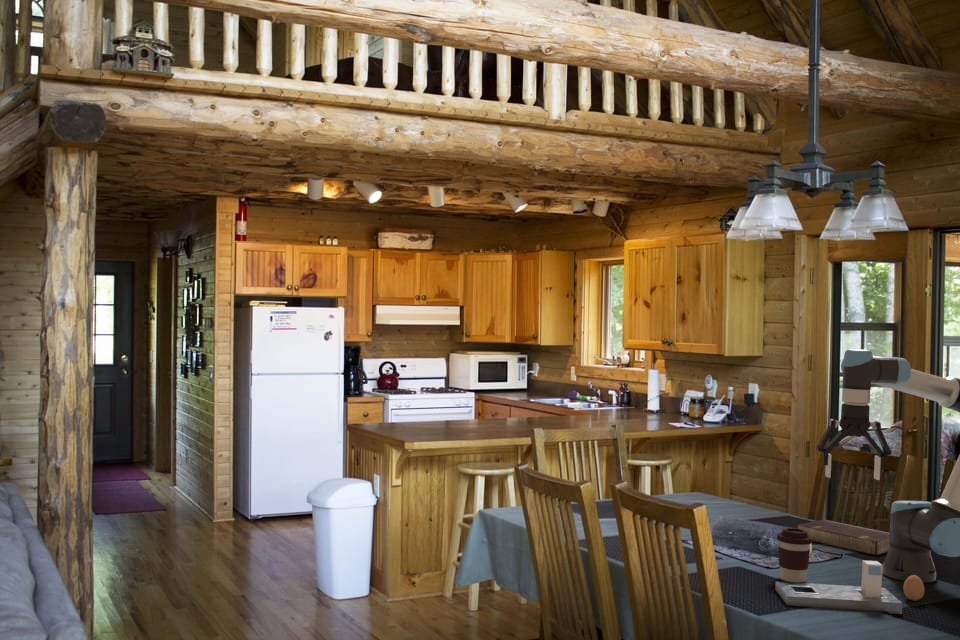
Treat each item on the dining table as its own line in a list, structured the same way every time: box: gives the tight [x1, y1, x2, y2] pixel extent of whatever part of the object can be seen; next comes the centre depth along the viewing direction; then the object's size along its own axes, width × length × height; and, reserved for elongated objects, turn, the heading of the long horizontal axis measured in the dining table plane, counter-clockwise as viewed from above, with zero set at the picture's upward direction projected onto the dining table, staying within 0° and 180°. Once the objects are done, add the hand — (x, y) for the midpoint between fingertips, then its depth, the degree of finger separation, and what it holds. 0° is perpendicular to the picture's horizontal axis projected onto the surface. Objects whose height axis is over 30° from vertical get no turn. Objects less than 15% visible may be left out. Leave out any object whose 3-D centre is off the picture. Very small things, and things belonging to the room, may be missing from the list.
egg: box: [902, 575, 925, 602], centre depth 273 cm, size 5×5×7 cm
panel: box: [774, 581, 903, 615], centre depth 268 cm, size 30×14×3 cm, turn 86°
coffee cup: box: [776, 527, 813, 583], centre depth 288 cm, size 10×10×15 cm
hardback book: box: [796, 519, 890, 556], centre depth 341 cm, size 29×19×5 cm, turn 42°
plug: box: [860, 559, 883, 597], centre depth 267 cm, size 4×5×11 cm
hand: (852, 478), depth 278 cm, fingers open, 13 cm apart
